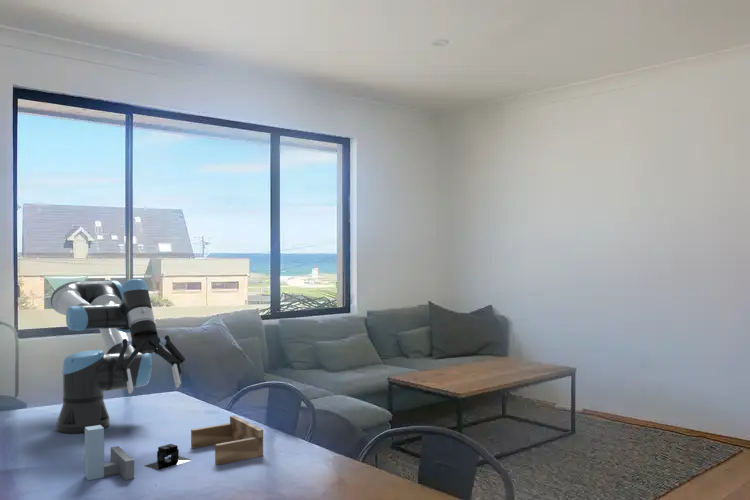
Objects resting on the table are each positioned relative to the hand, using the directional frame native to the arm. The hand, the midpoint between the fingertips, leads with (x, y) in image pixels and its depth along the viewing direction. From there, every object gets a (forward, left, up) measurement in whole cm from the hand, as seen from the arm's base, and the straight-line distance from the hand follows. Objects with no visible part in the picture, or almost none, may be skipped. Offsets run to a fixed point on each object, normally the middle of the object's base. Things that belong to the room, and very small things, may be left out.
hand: (155, 388), depth 189 cm
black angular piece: (+21, -3, -16) cm, 27 cm away
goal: (+21, +13, -15) cm, 29 cm away
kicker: (+21, -19, -15) cm, 32 cm away
